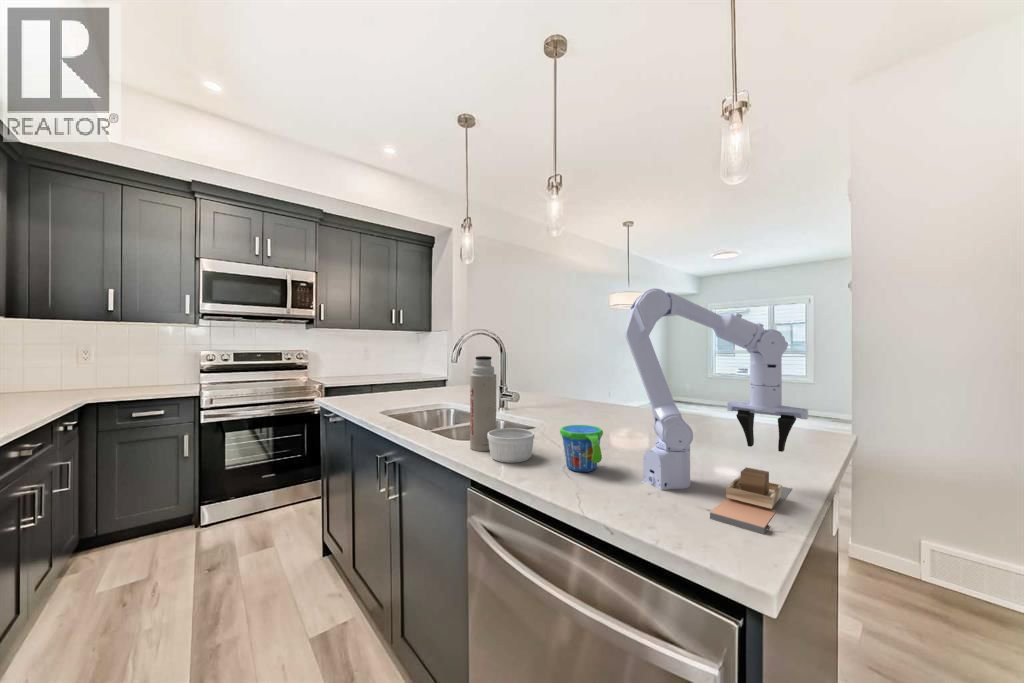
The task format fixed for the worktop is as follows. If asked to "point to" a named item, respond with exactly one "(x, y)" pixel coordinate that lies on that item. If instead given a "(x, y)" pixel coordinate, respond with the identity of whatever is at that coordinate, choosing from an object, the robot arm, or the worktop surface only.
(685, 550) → the worktop surface
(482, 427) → the thermos bottle
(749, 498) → the shallow wooden tray
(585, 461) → the snack cup
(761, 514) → the track
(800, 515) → the worktop surface
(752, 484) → the block
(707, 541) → the worktop surface
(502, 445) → the ramekin
